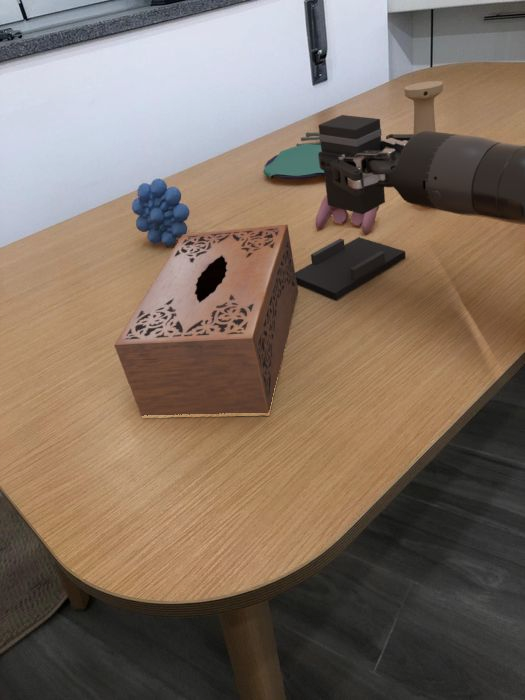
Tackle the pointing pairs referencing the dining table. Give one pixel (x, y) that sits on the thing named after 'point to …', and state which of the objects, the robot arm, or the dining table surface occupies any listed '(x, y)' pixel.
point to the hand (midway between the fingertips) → (335, 153)
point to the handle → (424, 104)
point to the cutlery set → (297, 161)
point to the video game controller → (345, 216)
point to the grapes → (160, 212)
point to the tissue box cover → (213, 324)
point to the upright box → (351, 139)
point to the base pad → (346, 266)
